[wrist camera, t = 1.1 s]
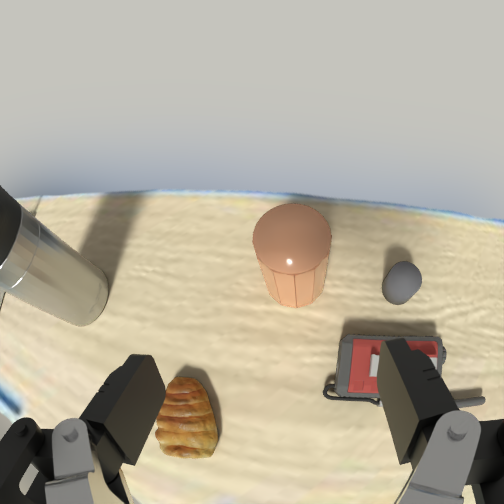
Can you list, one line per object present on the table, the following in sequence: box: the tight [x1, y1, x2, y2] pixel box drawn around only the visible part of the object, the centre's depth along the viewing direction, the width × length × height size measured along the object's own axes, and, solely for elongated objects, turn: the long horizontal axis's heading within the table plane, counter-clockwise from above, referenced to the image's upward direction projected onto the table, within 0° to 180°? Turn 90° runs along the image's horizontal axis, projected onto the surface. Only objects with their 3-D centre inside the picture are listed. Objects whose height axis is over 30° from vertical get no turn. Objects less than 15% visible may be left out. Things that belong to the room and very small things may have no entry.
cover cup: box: [253, 204, 332, 308], centre depth 29 cm, size 7×7×10 cm
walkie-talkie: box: [323, 334, 485, 408], centre depth 24 cm, size 9×4×20 cm
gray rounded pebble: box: [382, 261, 422, 305], centre depth 29 cm, size 4×4×4 cm
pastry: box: [155, 377, 218, 459], centre depth 26 cm, size 9×7×4 cm
